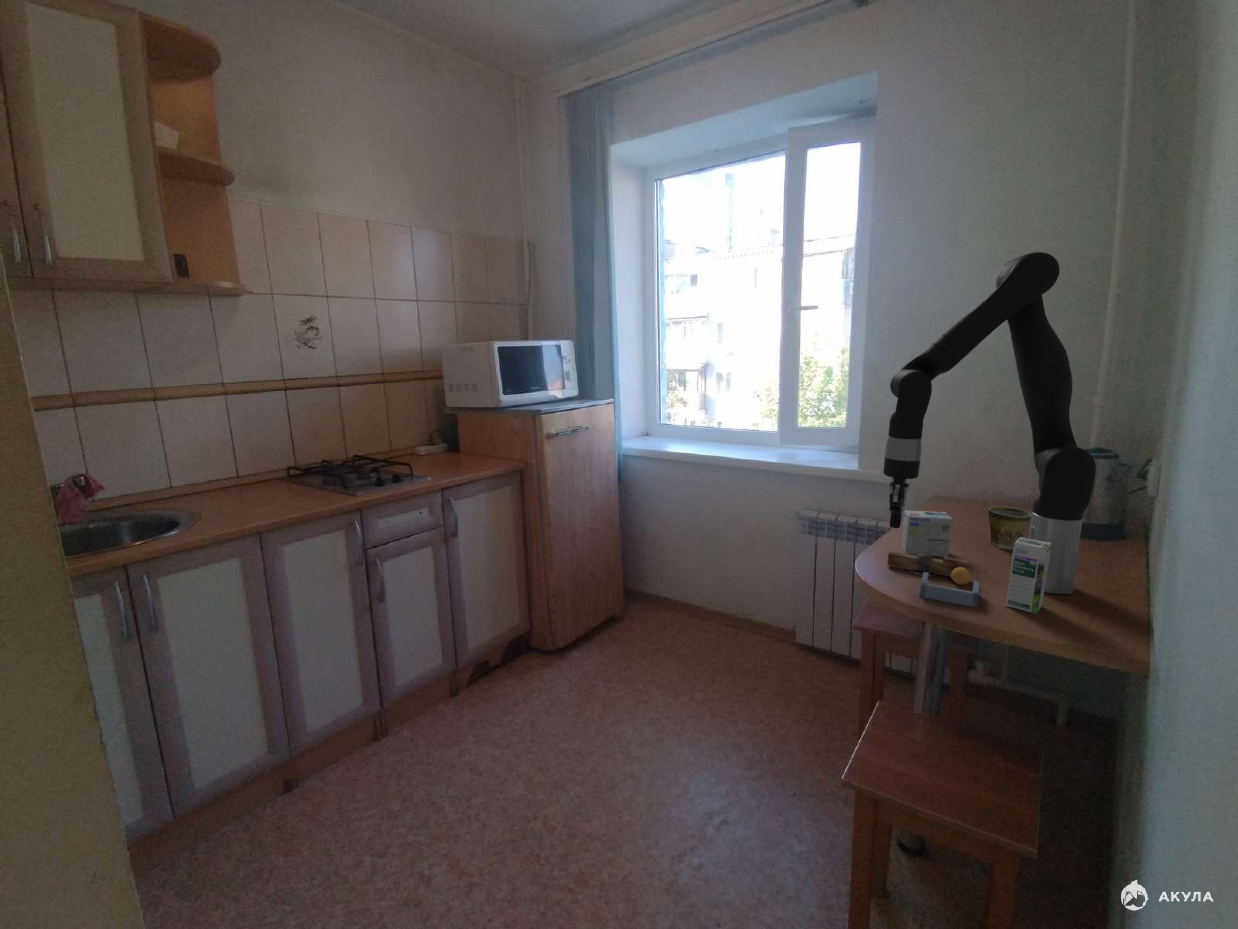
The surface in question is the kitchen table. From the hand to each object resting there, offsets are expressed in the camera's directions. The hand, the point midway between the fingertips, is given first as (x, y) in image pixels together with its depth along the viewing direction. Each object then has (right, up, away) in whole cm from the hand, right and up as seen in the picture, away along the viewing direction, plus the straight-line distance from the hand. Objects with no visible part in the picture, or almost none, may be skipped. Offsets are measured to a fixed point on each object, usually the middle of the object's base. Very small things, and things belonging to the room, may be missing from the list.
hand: (894, 527), depth 139 cm
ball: (+14, -13, -3) cm, 19 cm away
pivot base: (+9, -12, +4) cm, 15 cm away
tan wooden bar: (+9, -12, +4) cm, 15 cm away
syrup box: (+21, -16, -15) cm, 30 cm away
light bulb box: (+16, -9, +18) cm, 26 cm away
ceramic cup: (+42, -8, +23) cm, 49 cm away
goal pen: (+8, -14, -9) cm, 19 cm away
